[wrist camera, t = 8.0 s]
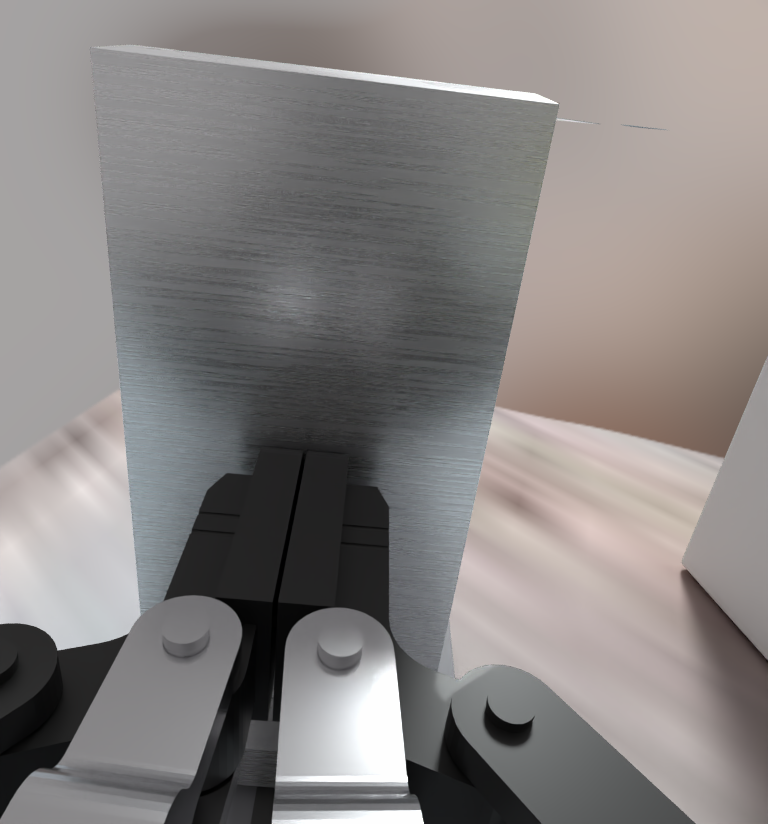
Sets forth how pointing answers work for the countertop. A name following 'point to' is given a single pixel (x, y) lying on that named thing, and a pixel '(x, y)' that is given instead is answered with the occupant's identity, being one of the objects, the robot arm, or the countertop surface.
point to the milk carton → (738, 526)
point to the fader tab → (313, 296)
